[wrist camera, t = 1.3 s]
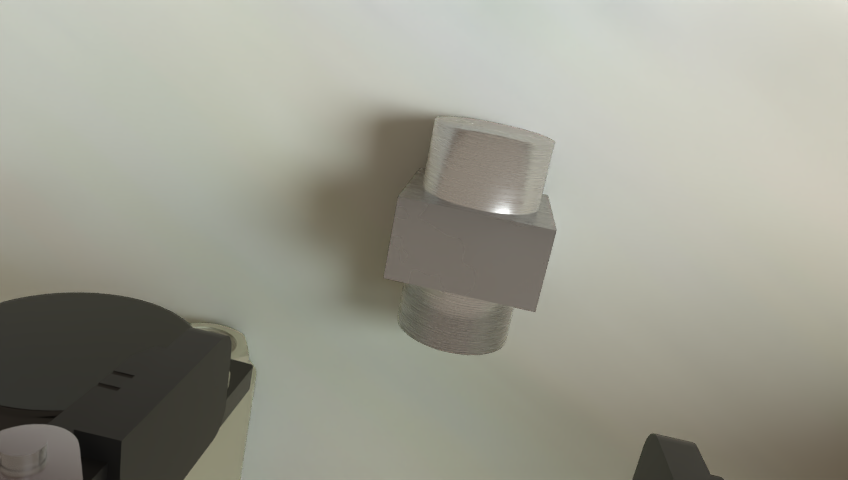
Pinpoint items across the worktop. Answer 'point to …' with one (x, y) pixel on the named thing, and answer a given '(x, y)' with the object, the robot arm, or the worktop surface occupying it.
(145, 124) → the worktop surface
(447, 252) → the coupling
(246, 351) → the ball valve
